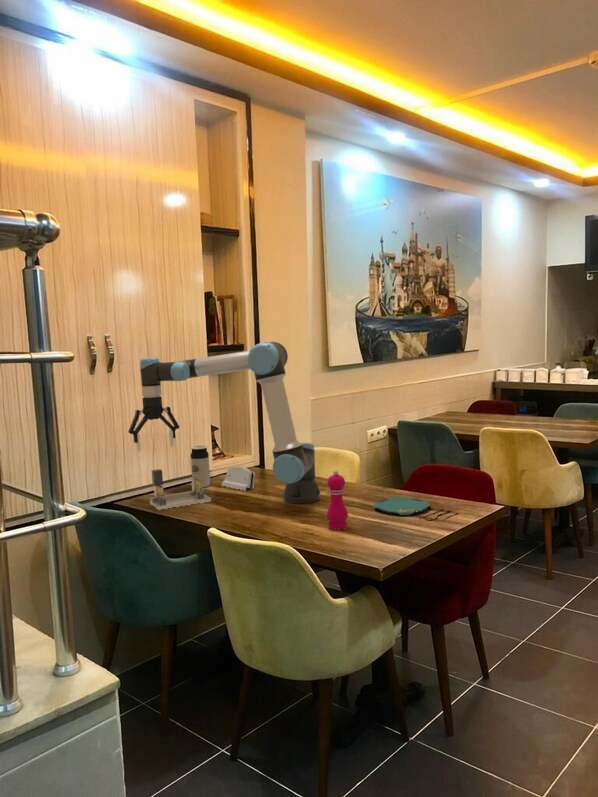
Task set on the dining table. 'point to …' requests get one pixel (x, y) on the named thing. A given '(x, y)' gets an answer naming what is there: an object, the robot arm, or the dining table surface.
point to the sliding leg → (157, 482)
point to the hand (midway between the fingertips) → (155, 448)
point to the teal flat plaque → (402, 505)
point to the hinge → (239, 478)
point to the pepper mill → (336, 502)
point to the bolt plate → (181, 497)
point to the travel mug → (200, 464)
